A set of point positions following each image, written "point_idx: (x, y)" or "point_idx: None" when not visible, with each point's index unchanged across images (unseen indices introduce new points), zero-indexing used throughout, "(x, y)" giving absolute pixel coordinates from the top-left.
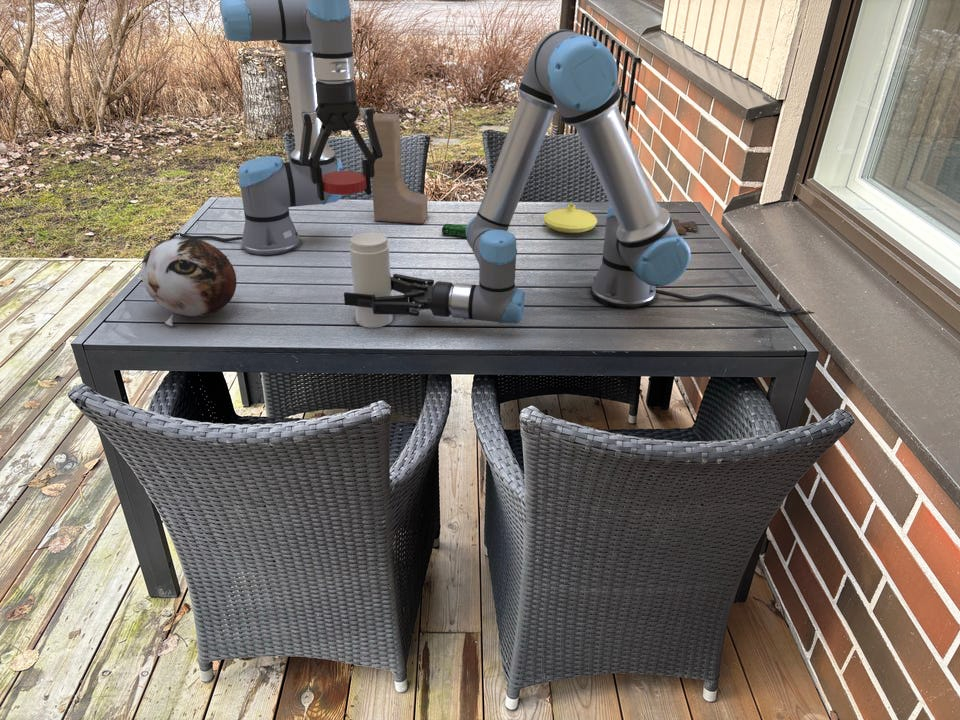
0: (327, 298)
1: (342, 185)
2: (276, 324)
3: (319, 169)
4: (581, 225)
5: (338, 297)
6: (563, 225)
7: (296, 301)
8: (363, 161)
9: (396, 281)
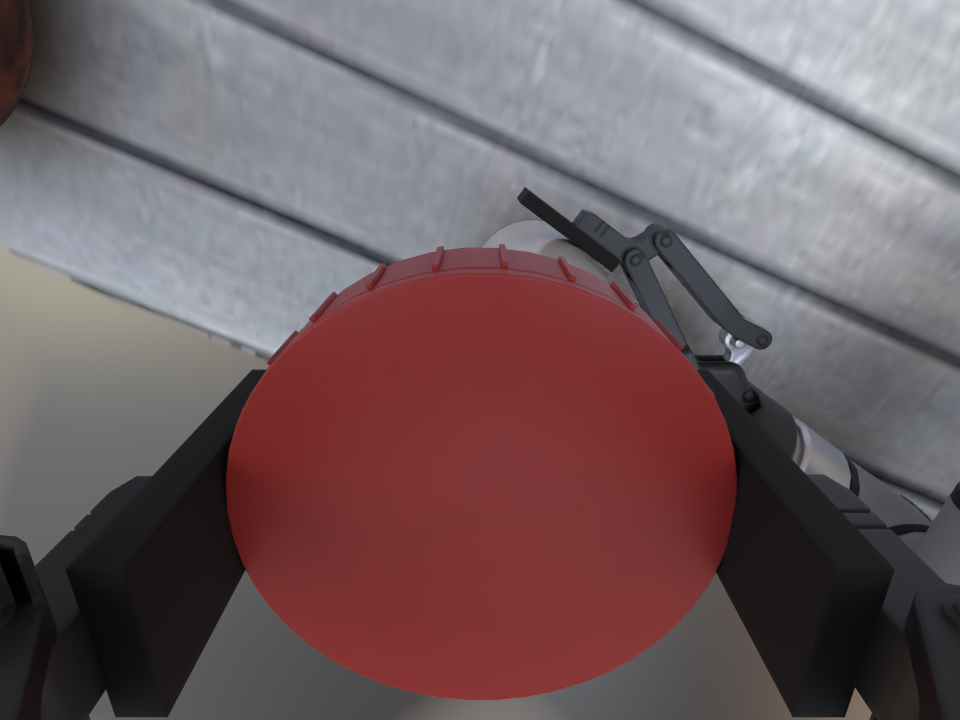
0: (423, 48)
1: (416, 686)
2: (227, 192)
3: (145, 707)
4: None
5: (464, 57)
6: None
7: (307, 26)
8: (818, 633)
9: (642, 300)
